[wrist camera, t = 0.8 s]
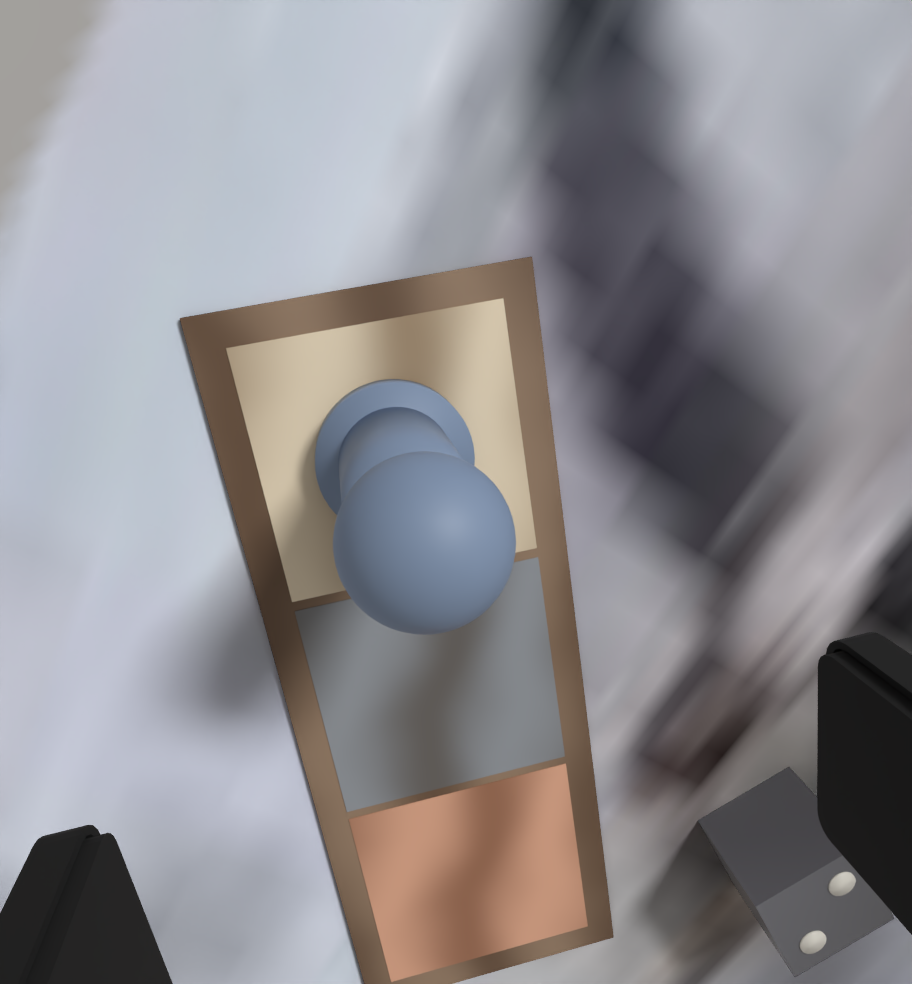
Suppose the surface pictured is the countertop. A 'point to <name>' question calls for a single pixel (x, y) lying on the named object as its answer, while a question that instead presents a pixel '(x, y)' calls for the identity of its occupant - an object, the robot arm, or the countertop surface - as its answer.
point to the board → (413, 657)
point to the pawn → (412, 509)
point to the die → (792, 872)
